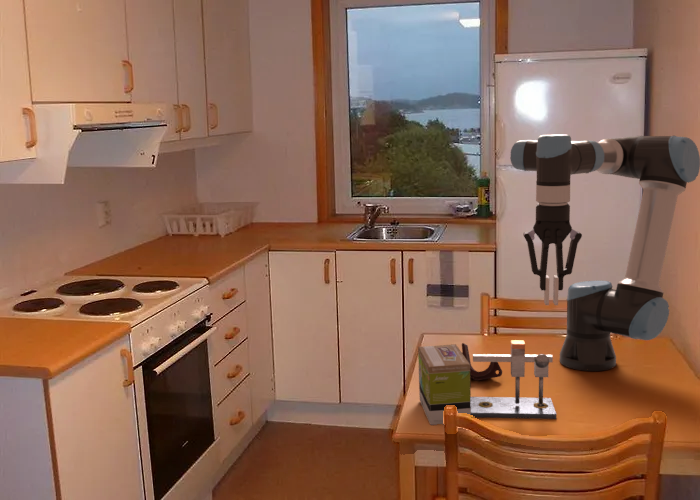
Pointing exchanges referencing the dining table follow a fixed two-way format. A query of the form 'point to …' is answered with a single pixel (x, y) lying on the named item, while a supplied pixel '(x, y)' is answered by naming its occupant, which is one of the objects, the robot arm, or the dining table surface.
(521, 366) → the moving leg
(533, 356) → the beam
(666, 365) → the dining table surface
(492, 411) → the board
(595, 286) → the robot arm
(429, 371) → the tea box
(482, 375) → the bracket
